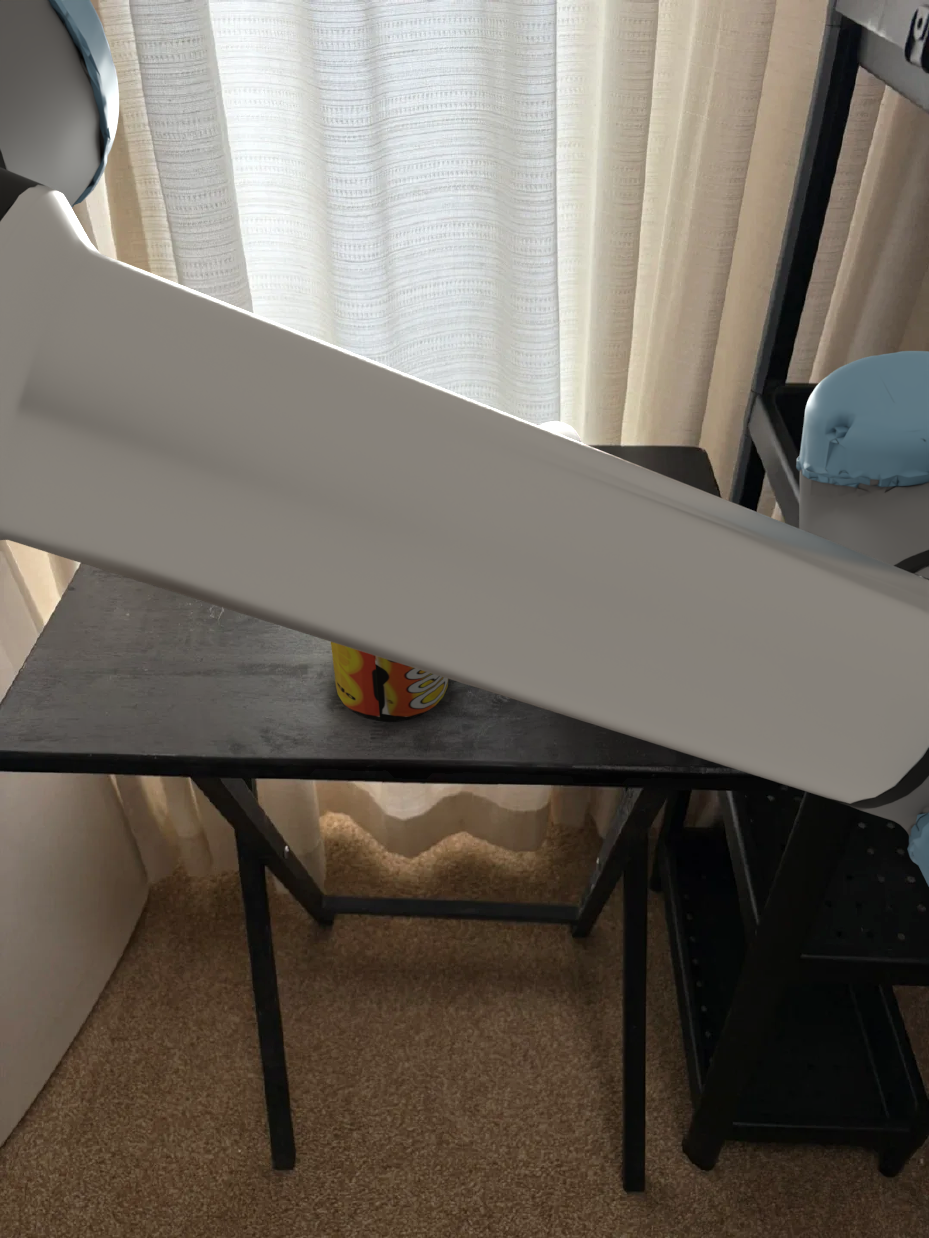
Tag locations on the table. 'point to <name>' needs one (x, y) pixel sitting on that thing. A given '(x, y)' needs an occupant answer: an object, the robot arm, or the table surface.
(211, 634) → the table surface
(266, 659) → the table surface
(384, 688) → the beverage can
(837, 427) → the robot arm
